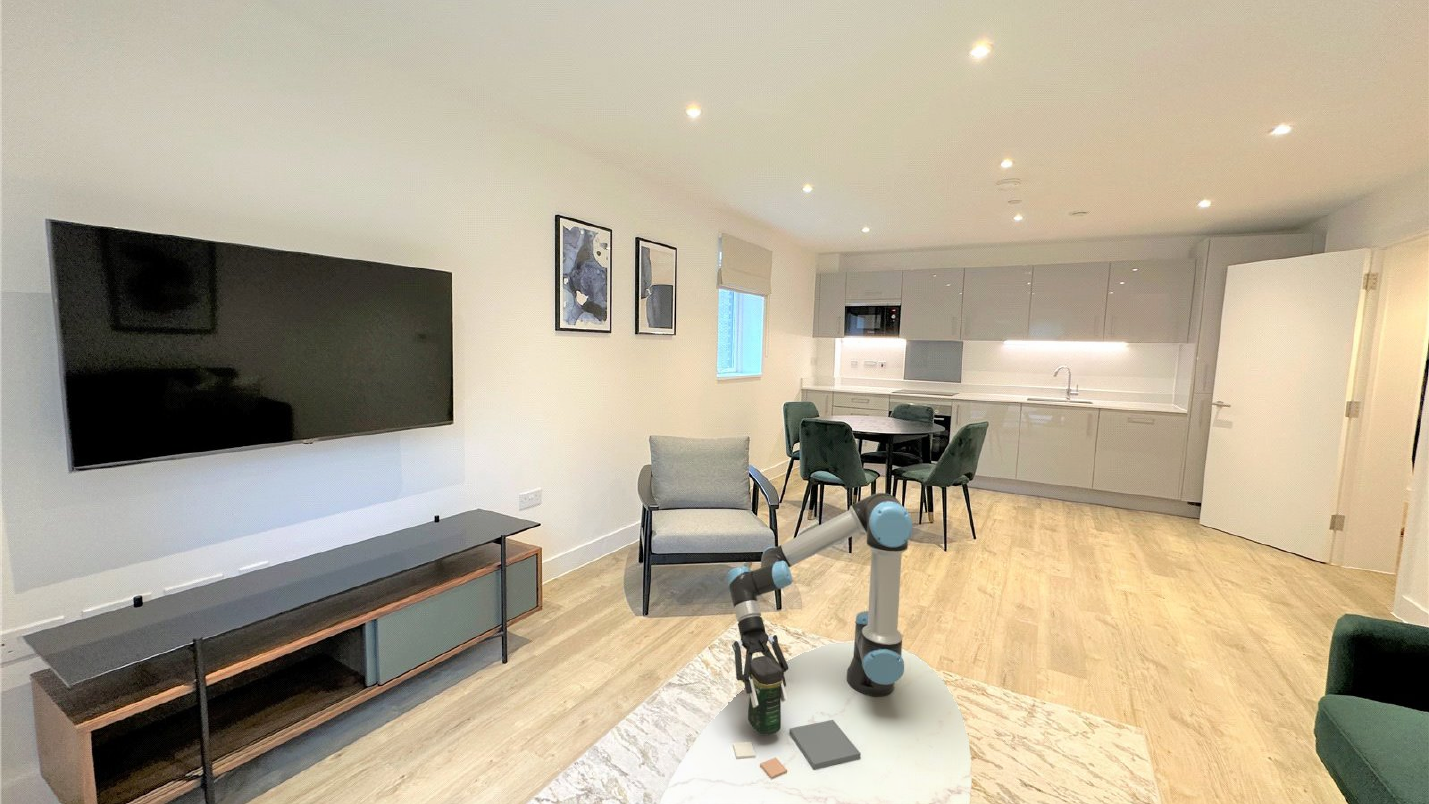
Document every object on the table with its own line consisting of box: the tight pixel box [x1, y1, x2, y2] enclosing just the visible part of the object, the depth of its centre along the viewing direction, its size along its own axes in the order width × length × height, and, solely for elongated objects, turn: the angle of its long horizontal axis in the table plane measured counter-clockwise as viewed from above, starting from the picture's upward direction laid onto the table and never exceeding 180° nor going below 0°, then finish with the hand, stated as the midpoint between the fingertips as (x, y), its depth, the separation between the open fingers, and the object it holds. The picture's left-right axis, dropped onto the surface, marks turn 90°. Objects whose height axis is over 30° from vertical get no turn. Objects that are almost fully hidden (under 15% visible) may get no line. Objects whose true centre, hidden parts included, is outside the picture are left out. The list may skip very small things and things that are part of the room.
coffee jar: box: [747, 655, 782, 736], centre depth 154 cm, size 10×8×19 cm
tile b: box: [732, 741, 756, 760], centre depth 148 cm, size 5×5×1 cm
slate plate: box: [788, 719, 862, 770], centre depth 151 cm, size 14×14×2 cm
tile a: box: [759, 757, 788, 780], centre depth 142 cm, size 5×5×1 cm
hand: (770, 703), depth 151 cm, fingers closed on coffee jar, 8 cm apart
